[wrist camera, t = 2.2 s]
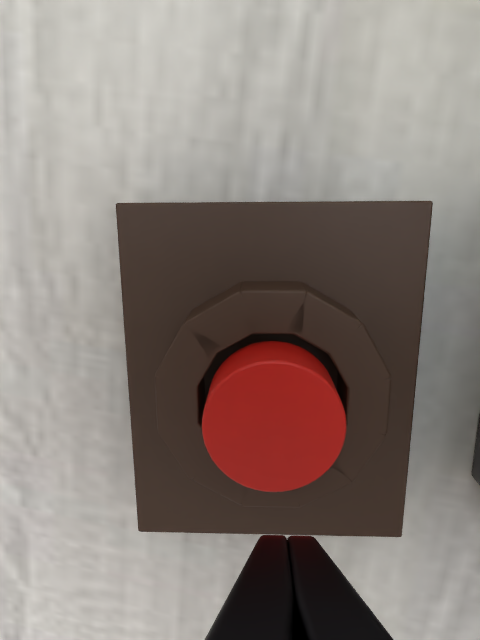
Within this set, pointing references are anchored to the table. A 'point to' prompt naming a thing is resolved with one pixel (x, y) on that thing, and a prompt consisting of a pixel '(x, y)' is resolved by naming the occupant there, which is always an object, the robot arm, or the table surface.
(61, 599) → the table surface
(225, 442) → the release button
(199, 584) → the table surface
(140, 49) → the table surface
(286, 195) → the table surface
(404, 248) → the brown button base
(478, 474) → the black box
